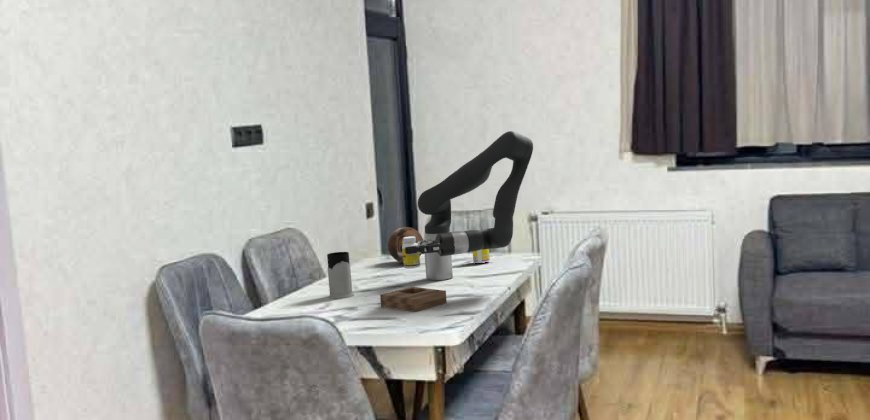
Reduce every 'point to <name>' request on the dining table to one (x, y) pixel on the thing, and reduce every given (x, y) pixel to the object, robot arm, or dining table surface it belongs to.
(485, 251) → the supplement bottle
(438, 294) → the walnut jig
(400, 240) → the wooden sphere
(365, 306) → the dining table surface
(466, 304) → the dining table surface
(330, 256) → the glass holder
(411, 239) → the supplement bottle
